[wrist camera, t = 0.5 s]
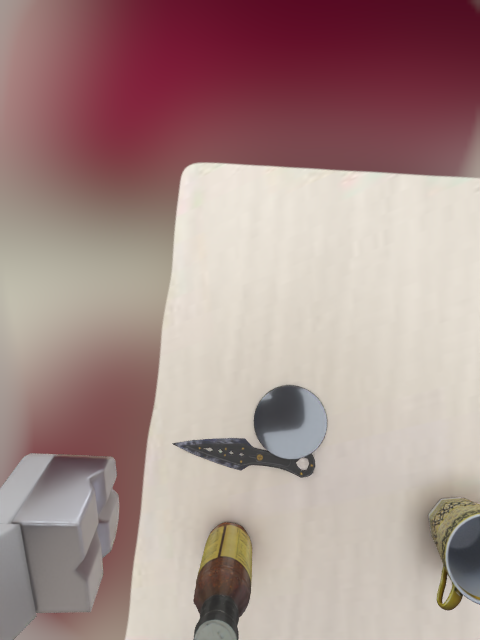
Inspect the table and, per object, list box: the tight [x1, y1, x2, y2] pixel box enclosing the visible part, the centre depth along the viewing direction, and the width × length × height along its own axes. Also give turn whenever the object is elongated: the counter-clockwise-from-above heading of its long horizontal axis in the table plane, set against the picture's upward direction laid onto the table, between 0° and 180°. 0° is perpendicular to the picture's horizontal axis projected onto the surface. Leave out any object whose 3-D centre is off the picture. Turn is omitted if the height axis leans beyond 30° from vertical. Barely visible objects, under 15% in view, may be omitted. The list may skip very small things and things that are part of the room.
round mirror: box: [254, 385, 327, 459], centre depth 58 cm, size 10×10×1 cm
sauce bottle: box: [194, 522, 252, 640], centre depth 47 cm, size 7×6×20 cm
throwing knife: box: [173, 438, 315, 477], centre depth 58 cm, size 4×20×1 cm, turn 82°
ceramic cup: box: [428, 497, 480, 610], centre depth 50 cm, size 13×10×10 cm
